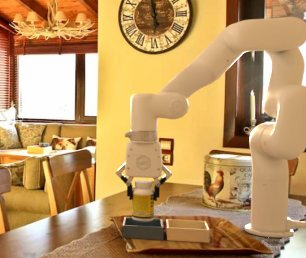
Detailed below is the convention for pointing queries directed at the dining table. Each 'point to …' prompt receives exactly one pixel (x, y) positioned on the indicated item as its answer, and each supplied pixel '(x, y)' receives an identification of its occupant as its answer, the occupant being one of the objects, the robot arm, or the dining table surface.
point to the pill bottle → (143, 201)
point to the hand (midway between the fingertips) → (143, 198)
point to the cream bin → (187, 230)
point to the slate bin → (143, 229)
